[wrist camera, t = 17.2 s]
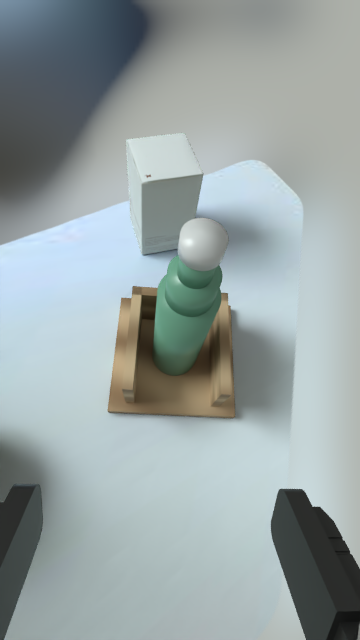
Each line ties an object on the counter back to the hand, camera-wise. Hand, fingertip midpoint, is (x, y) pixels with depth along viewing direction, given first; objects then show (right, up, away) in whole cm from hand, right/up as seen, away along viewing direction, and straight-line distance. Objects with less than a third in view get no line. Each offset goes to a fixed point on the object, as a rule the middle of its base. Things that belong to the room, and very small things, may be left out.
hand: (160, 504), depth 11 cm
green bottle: (0, +2, +28) cm, 28 cm away
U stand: (0, +2, +29) cm, 29 cm away
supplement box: (-2, +19, +37) cm, 42 cm away
